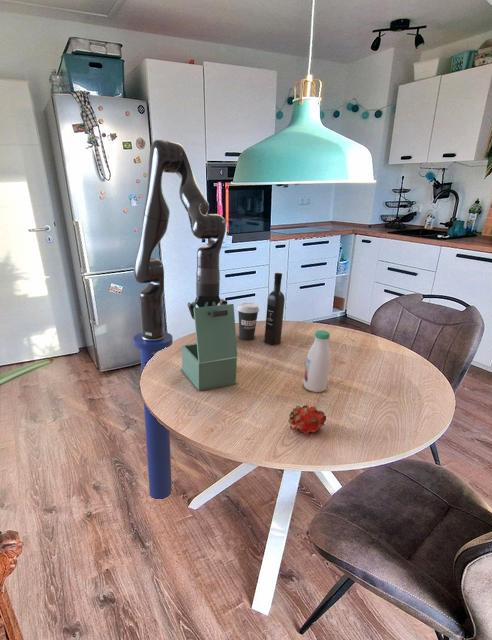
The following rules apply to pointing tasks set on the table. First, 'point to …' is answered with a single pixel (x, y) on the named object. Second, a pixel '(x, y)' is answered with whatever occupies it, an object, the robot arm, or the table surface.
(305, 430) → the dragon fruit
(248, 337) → the coffee cup
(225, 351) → the green box lid
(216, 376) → the green rectangular box
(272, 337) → the wine bottle
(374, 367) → the table surface
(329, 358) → the milk bottle
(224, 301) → the robot arm
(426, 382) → the table surface
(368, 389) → the table surface
